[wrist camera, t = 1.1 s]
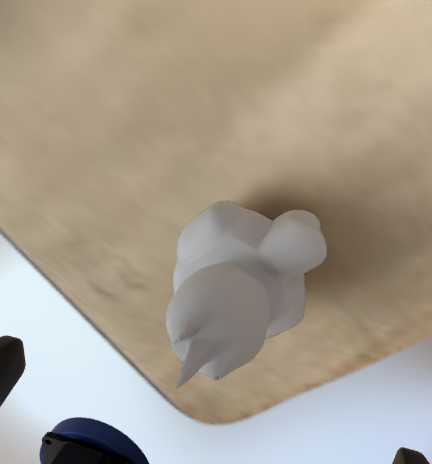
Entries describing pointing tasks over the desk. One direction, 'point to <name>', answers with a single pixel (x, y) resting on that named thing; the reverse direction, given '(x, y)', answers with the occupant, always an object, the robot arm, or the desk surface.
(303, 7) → the desk surface
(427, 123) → the desk surface
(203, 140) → the desk surface
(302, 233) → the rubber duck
